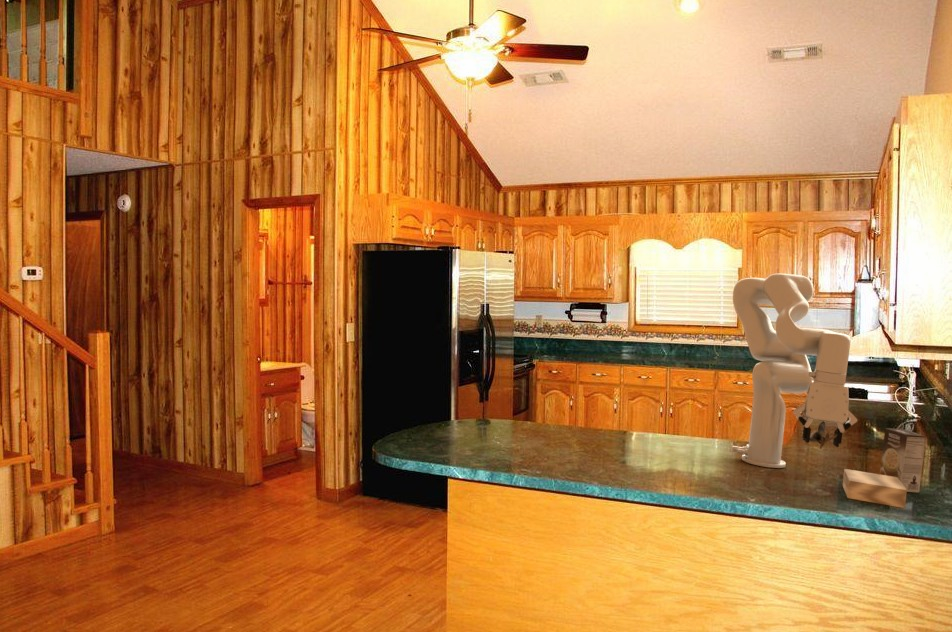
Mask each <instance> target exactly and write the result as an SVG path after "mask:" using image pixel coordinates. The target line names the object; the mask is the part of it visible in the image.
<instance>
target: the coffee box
mask: <svg viewBox="0 0 952 632" xmlns="http://www.w3.org/2000/svg"><path fill="white" fill-rule="evenodd" d="M883 436H884V437H883V444H882V451H881V452H882V453H881V461H880V467H879V474H880V475H887V476H893V477H898V478H899V480H900V481H901V483H902V484H903V485H904V487H905V488H906V489H907V492H908V493H920V486H921V478H922V470H923V462H924V455H925V448H926V438H927V436H926V435H923V434H919V433H917V432H914V431H911V430H908V429H905V428H903V429H902V428H891V427H889V428H887V427H886V428H884V435H883Z"/></svg>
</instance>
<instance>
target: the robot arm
mask: <svg viewBox="0 0 952 632" xmlns="http://www.w3.org/2000/svg"><path fill="white" fill-rule="evenodd" d="M814 289H815V288H814V284H813V283H812V280H811V279H809V277H806V275H799V274H792V273H791V274H790V273H789V274H788V273H772V274H770V275H769V276H767V277H766V278H763V277H762V278H761V277H747V278H741V279H740V280H738V281H737V282H736V283H735V285H734V287H733V290H732V303H733V308H734V310H735V312H736V315H737V317H738V318H739V319H738V320H740V323H741V325H742V328H743V331H744V335H745V338H746V342H747V345H748V349H749V352H750V355H751V356H752V358H753V359H754V360H757V361H759V362H757V363H756V364H755V365H754V367H753V368H752V369H753V370H752V375H751V376H752V389H753V391H752V395H753V396H752V407H751V409H752V410H751V419H750V428H749V437H748V444H746V445H745V446H744V445H743V446H737V445H732V446H731V452H732V453H736V454H742V455H741V460H742V461H743V462H744V463H747V464H751V465H754V466H758V467H759V466H760V467H762V468H763V467H764V468H772V469H783V468H786V467H787V465H786V464H787V463H786V461H784V460H782V453H783V452H782V451H783V442H784V434H785V433H784V431H785V422H786V413H787V406H786V403H785V401H784V399H783V396H782V395H781V394H784V393H785V394H805V393H807V394H806V396H805V401H804V403H803V404H800V405H799V406H797V407H796V408H795V409H793V410H792V412H793V414H794V416H795V417H796V419H797V420H798V421H799V422H800V423H801V424H802V426H803V428H802V429H803V430H802V439H804V440H803V441H804V442H805V444H808V443H810V441H809V440H810V434H811V432H812V428H811V425H812V423H813V422H814V420H815V421H822V422H823V421H824V422H830V423H835V426H836V429H835V430H834V434H833V436H835V435H837V436H836V437H835V438H834V439H832V444H833V446H835V447H837V448H839V447H840V444H842V440H843V433H845V432H846V430H848V429H849V428H852V426H853V425H854V424H856V423H857V422H858V418H857V417H856V416H855V415H854V414H853V413H852V412H851V411H850V410H849V402H850V401H849V400H850V399H849V398H850V397H849V396H850V395H849V393H850V392H849V386H848V385H846V378H847V373H848V363H849V356H850V350H851V343H852V342H851V340H852V339H851V337H850V335H848V334H846V333H840V332H835V331H834V330H833V331H832V330H829V329H823V328H811V327H810V328H809V327H800V326H798V325H796V323H797V322H799V321H801V320H802V319H803V318H805V317H806V316H807V314H808V313H809V311H810V305H809V301H810V300H811V299H812V297H813V295H814ZM759 305H761V306H770V307H773V308H774V310H775V311H776V312H777V314H778V315H777V318H776V321H775V329H774V327H773V325H772V321H771V319H770V316H768V314H767V313H766V312H765V310H763V309H762V308H761V307H760V306H759ZM807 356H814V357H816V360H815V369H814V370H813V371H812V369H811V365H810V361H809V359H808V357H807ZM802 412H803V414H804V415H805V416H806V418H804V417H803V415H802V414H801V413H802Z"/></svg>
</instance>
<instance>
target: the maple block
mask: <svg viewBox="0 0 952 632" xmlns="http://www.w3.org/2000/svg"><path fill="white" fill-rule="evenodd" d="M842 487H843V490H844V492H845V495H846V498H847V499H853V500H857V501H863V502H869V503H873V504H879V505H886V506H891V507H897V508H903V509H905V508H906V501H907V489H906V488H905V487H904V485H903V484H902V483H901V481H900V480H899V478H898V477H893V476H887V475H880V473H874V472H866V471H861V470H854V469H853V470H852V469H848V468H843V477H842Z"/></svg>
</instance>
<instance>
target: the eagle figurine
mask: <svg viewBox="0 0 952 632" xmlns="http://www.w3.org/2000/svg"><path fill="white" fill-rule="evenodd" d="M825 432H826V421H822V422H820V423H819V425H818V426H817V429H815V430H813V431H811V433H810V440H809V442H814V443H815V442H817V443H818V444H820V446H819V449H820V450H822V448H823V447H825V448H827V445H826V443H828V441H829V442H830V440H834V438H835V437H836V436H837V435H835V436H834V435H833V436H831V437H830V434H829V432H827V433H826V435H825V437H824V436H823V435H824V434H825ZM802 441H804V438H802Z"/></svg>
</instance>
